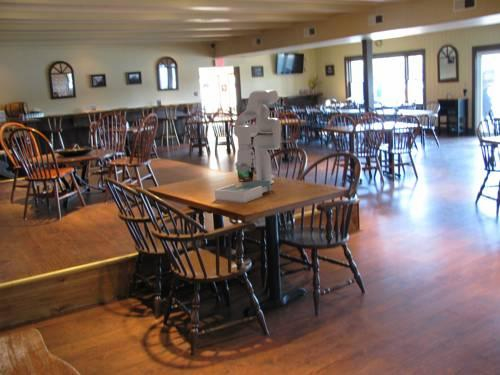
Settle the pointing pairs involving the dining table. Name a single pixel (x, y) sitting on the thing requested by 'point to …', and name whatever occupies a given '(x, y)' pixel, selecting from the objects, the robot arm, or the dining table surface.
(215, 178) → the dining table surface
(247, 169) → the food container
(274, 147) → the robot arm
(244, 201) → the shallow white open box
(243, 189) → the tray
